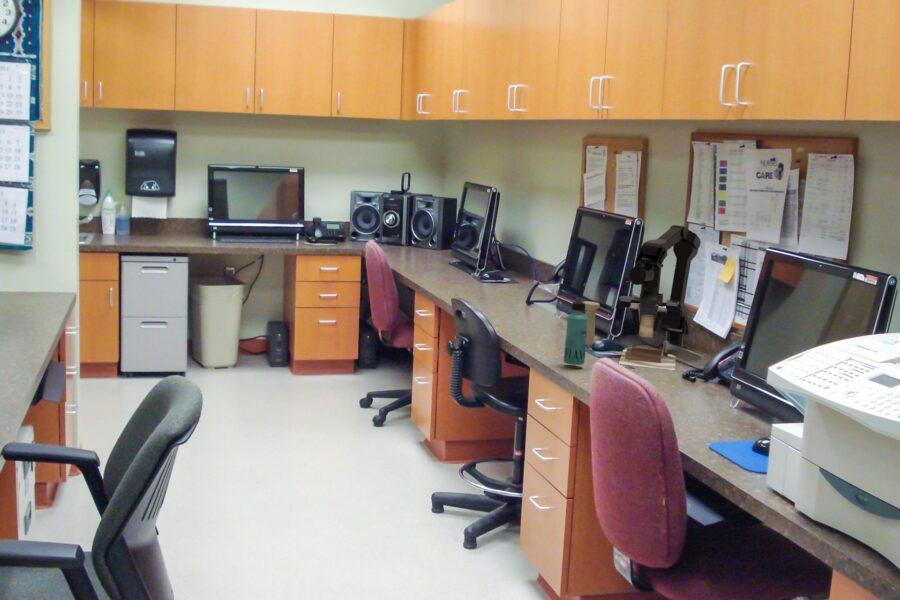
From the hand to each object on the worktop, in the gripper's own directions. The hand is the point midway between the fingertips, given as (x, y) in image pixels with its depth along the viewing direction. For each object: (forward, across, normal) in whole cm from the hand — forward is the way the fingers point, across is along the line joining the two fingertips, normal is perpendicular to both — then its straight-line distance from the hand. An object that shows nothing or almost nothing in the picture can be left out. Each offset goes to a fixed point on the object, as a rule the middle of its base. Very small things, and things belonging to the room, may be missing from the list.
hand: (646, 330), depth 311 cm
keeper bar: (+8, +12, -2) cm, 15 cm away
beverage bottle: (+10, -20, -21) cm, 31 cm away
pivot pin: (+2, 0, 0) cm, 2 cm away
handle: (+10, -19, +11) cm, 24 cm away
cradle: (+10, +2, -3) cm, 10 cm away
